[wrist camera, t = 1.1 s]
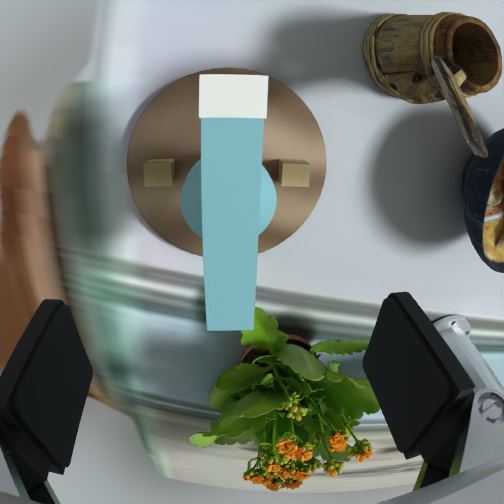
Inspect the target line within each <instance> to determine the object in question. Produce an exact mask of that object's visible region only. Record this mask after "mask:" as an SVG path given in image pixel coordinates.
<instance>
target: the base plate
mask: <svg viewBox="0 0 504 504" xmlns="http://www.w3.org/2000/svg"><path fill="white" fill-rule="evenodd" d="M203 74H235V75H263V76H267V75H264V74H261V73H259V72H255V71H251V70H246V69H238V68H216V69H210V70H205V71H201V72H198V73H195V74H192V75H189V76H186V77H184V78H182V79H181V80H179V81H177V82H175V83H173V84H172V85H170V86H169V87H167V88H166V89H165V90H163V91H162V92H161V93H160V94H159V95H158V96H157V97H156V98H155V99H154V100H153V101H152V102H151V103H150V104H149V106H148V107H147V108H146V109H145V111H144V112H143V114H142V115H141V117H140V119H139V120H138V122H137V124H136V127H135V129H134V131H133V134H132V137H131V141H130V144H129V149H128V157H127V173H128V180H129V186H130V189H131V193H132V196H133V198H134V201H135V203H136V205H137V207H138V209H139V211H140V212H141V214H142V216H143V217H144V219H145V220H146V221H147V222H148V224H149V225H150V226H151V227H152V228H153V229H154V230H155V231H156V232H157V233H158V234H159V235H160V236H161V237H163V238H164V239H165V240H167V241H168V242H169V243H171V244H173V245H175V246H176V247H178V248H180V249H182V250H185V251H187V252H189V253H192V254H196V255H199V256H203V238H201V237H200V236H198V235H197V234H196V233H195V232H194V231H193V230H192V229H191V228H190V227H189V225H188V224H187V222H186V221H185V218H184V216H183V213H182V209H181V192H182V188H183V185H184V183H185V180H186V178H187V175H188V173H189V172H190V170H191V168H192V167H193V166H194V165H195V164H196V163H197V162H198V161H199V160H200V159H201V118H199V78H200V75H203ZM262 165H263V166H264V167H265V169H266V170H267V172H268V174H269V175H270V177H271V179H272V181H273V184H274V186H275V190H276V196H277V203H276V209H275V213H274V216H273V218H272V220H271V222H270V223H269V225H268V226H267V227H266V229H265V230H264V231H263V232H262V233H261V234H259V235H258V253H262V252H264V251H266V250H268V249H271V248H273V247H275V246H276V245H278V244H280V243H281V242H283V241H284V240H286V239H287V238H288V237H290V236H291V235H292V234H293V233H294V232H295V231H296V230H298V229H299V228H300V227H301V226H302V224H303V223H304V222H305V221H306V219H307V218H308V217H309V215H310V214H311V212H312V211H313V209H314V207H315V205H316V203H317V201H318V199H319V197H320V194H321V191H322V188H323V185H324V179H325V174H326V152H325V145H324V141H323V137H322V133H321V131H320V128H319V126H318V123H317V121H316V119H315V118H314V116H313V114H312V112H311V111H310V110H309V108H308V107H307V106H306V104H305V103H304V102H303V101H302V100H301V99H300V98H299V97H298V96H297V95H296V94H295V93H294V92H293V91H292V90H291V89H289V88H288V87H287V86H285V85H284V84H282V83H281V82H279V81H277V80H275V79H273V78H271V77H269V76H268V97H267V119H265V118H264V130H263V151H262Z"/></svg>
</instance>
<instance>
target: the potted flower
mask: <svg viewBox="0 0 504 504" xmlns="http://www.w3.org/2000/svg"><path fill="white" fill-rule="evenodd" d="M277 327H278V323H277V321H276V319H275V318H274V317H273V316H271V315H268V314H266V312H265V311H264V310H263V309H261V308H257V307H255V312H254V330H241V333H242V334H243V336H242V338H241V346H242V345H243V344H244V345H243V346H246V345H247V344H251V346H250V347H249V348H248V349H246V351H245V353H244V354H243V357H242V359H241V363H240V365H235V366H233V367H231V368H230V369H231V370H228V371H224V372H223V375H222V376H220V377H218V380H219V381H217V383H216V384H215V386H214V387H213V388H212V389H211V393H210V395H209V398H210V399H209V406H210V407H211V408H212V409H216V410H219V411H221V410H223V411H222V414H221V416H220V417H219V418H218V421H216V422H211V423H210V425H211V427H210V429H211V432H197V433H195V434H192V435H191V436H189V441H190V442H191V443H192V444H196V446H195V447H196V448H197V449H198V448H202V447H203V448H205V447H207V446H208V445H210V444H211V443H212V442H215V443H216V444H220V445H224V444H225V443H227V444H228V445H232V444H235V443H236V442H237V441H238V442H239V443H240V444H242V445H243V444H246V443H247V442H251V441H254V443H256V444H259V446H258V448H259V451H258V456H257V458H253V459H251V460H250V461H249V462H248V467H247V468H248V470H247V471H246V472H245V473H244V476H243V479H244V480H250V481H253V484H256V483H257V484H263V485H264V486H267V489H270V490H272V491H274V490H275V491H277V490H278V489H279V487H278V486H280V484H281V486H282V487H280V488H285V487H287V489H288V488H291V489H294V488H297V487H299V485H301V484H303V483H302V480H305V479H307V478H309V477H310V476H309V474H310V471H309V470H311V472H313V473H314V472H315V471H316V469H315V466H316V468H317V469H319V468H321V466H322V464H321V463H320V461H318V459H315V457H316V456H319V453H320V455H321V457H322V459H323V460H327V463H323V466H322V468H323V467H325V468H324V472H327V471H328V472H327V474H326V475H329V476H332V477H335V476H336V475H337V473H339V474H340V473H341V472H342V470H341V468H342V467H343V465H342V464H344V462H338V458H339V461H349V460H350V459H351V457H352V456H356V455H358V456H356V461H357V460H359V461H361V462H363V461H364V459H365V458H370V456H371V455H373V452H371V450H372V447H371V446H370V445H371V444H370V443H369V440H367V439H363V440H362V441H360V440H357V438H356V437H355V435H354V434H353V432H352V431H351V429H350V428H353V426H357V425H359V424H360V423H359V422H358V421H357V420H354V419H360V418H362V416H363V412H366V413H367V414H368V415H369V414H371V413H372V414H374V413H376V412H378V411H379V410H380V406H379V403H378V401H377V399H376V396H375V394H374V392H373V390H372V387H371V385H370V383H369V380H368V379H359V378H352V377H349V376H346V375H344V374H342V373H338V368H337V367H338V366H339V365H340V364H343V363H345V362H337V361H331V362H329V364H328V366H327V368H325V366H324V365H323V363H322V362H321V361H320V360H319V359H317V358H319V356H321V355H322V353H321V354H319V355H316V352H326V353H328V354H331V355H333V353H336V354H341V355H345V353H348V354H349V355H353V352H356V353H358V352H362V351H363V350H367V347H368V345H369V342H370V340H362V341H358V340H350V341H347V340H328V341H321V342H319V343H317V344H315V345H313V346H311V345H310V344H309V343H308V342H307V341H306V340H304V339H303V338H301V337H300V336H298V335H292V334H284V333H283V332H281V331H280V330H278V329H277ZM350 417H351V418H350ZM350 435H352V436H353V438H354V439H355V440H356V443H355V444H354V446H353V447H351V446H349V445H348V444H347V443H348V441H347V440H348V438H349V437H350ZM359 442H360V443H359ZM262 446H264V448H263V450H262ZM307 450H308V451H307ZM364 450H366V451H365V452H364ZM367 450H368V451H367ZM262 457H264V458H263V459H261V458H262ZM255 459H258V460H257V462H256V464H255V465H254V467H253V468H249V467H250V462H251V461H253V460H255ZM287 459H290V460H289V461H288V460H287ZM292 459H293V460H294V461H292ZM309 459H310V460H309ZM295 460H296V462H295ZM260 461H261V462H262V465H263V467H262V468H261V466H262V465H261V463H260ZM276 463H278V464H276ZM280 464H281V465H280ZM304 464H307V465H304ZM258 465H259V467H260V468H259V469H255V467H256V466H257V468H258ZM289 469H290V471H288V470H289ZM274 473H278V474H277V475H276V476H275V475H274ZM280 477H281V478H282V479H284V480H285V482H283V480H281V479H280ZM272 478H273V479H272Z"/></svg>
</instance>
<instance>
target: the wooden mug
mask: <svg viewBox="0 0 504 504" xmlns="http://www.w3.org/2000/svg"><path fill="white" fill-rule="evenodd" d="M363 55H364V58H365V62H366V66H367V67H368V69H369V71H370V73H371V75H372V77H373V79H374V80H375V82H376V83H377V84H378V86H379V87H380V88H382V89H383V90H384V91H386V92H387V93H389V94H391V95H393V96H395V97H397V98H401V99H403V100H405V101H407V102H410V103H414V104H427V103H433V102H438V101H442V100H445V99H446V100H447V102H448V104H449V106H450V108H451V110H452V112H453V114H454V117H455V119H456V121H457V123H458V125H459V128H460V130H461V132H462V134H463V136H464V139H465V140H466V142H467V143H468V145H469V147H470V148H471V150H472V151H473V153H474V154H475V155H477V156H481V157H485V158H487V156H488V152H487V149H486V147H485V144H484V142H483V139H482V137H481V134H480V132H479V130H478V127H477V125H476V122H475V120H474V117H473V115H472V113H471V110H470V108H469V106H468V104H467V101H466V99H465V98H467V97H471V96H476V95H478V94H481V93H484V92H488V91H489V90H491V89H492V88H493V87H494V86H495V85H496V84H497V83H498V81H499V79H500V77H501V74H502V56H501V50H500V46H499V44H498V42H497V40H496V38H495V36H494V35H493V33H492V31H491V30H490V28H489V27H488V26H487V25H486V24H485V23H484V22H482V21H481V20H479V19H477V18H474V17H470V16H465V15H463V14H461V13H453V12H441V13H438V14H435V15H407V14H387V15H384V16H382V17H379V18H378V19H377V20H376V21H375V22H373V23H372V24H371V26H370V27H369V29H368V30H367V33H366V35H365V38H364V42H363Z"/></svg>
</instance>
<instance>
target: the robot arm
mask: <svg viewBox="0 0 504 504" xmlns="http://www.w3.org/2000/svg"><path fill="white" fill-rule="evenodd" d="M470 333H471V328H470V324H469V323H468V321H467V320H466V319H465V318H464V317H462V316H459V315H453V316H448V317H445V318H442V319H440V320H438V321H436V322H435V323H433V324H432V322H431V321H430V319H429V318H428V317H427V315H426V314H425V313H424V311H423V310H422V309H421V307H420V306H419V305H418V304H417V302H416V301H415V300H414V298H413V297H412V296H411V294H409V293H408V292H398V293H391V294H389V295H388V297H387V298H386V299H384V301H383V303H382V306H381V309H380V312H379V316H378V319H377V322H376V325H375V327H374V330H373V333H372V336H371V339H370V342H369V345H368V347H367V350H366V353H365V355H364V358H363V369H364V372H365V374H366V376H367V378H368V380H369V383H370V385H371V387H372V390H373V392H374V394H375V396H376V399H377V401H378V403H379V406H380V408H381V410H382V413H383V415H384V417H385V420H386V422H387V424H388V427H389V429H390V432H391V434H392V436H393V439H394V441H395V444H396V446H397V449H398V450H399V451H400V452H401V453H404V456H405V458H406V460H407V459H410V458H413V457H416V456H419V455H422V458H423V460H424V462H423V464H422V467H421V470H420V473H419V476H418V478H417V481H416V484H415V486H414V489H413V491H412V492H410V493H407V494H404V495H401V496H398V497H395V498H392V499H389V500H386V501H383V502H379V503H376V504H504V387H503V385H502V384H501V382H500V381H499V379H498V378H497V376H496V375H495V373H494V372H493V371H492V369H491V368H490V366H489V365H488V364H487V362H486V361H485V359H484V358H483V357H482V355H481V354H480V353H479V351H478V350H477V349H476V347H475V346H474V345H473V343H472V342H471V341H470V339H469V337H470ZM92 376H93V370H92V366H91V364H90V361H89V359H88V356H87V354H86V351H85V349H84V346H83V344H82V341H81V339H80V336H79V333H78V330H77V328H76V325H75V322H74V319H73V316H72V314H71V311H70V308H69V306H68V305H65V304H64V302H63V301H62V300H54V299H45V300H43V301H42V303H41V304H40V306H39V308H38V309H37V311H36V312H35V314H34V316H33V317H32V319H31V321H30V323H29V324H28V326H27V328H26V329H25V331H24V333H23V335H22V336H21V338H20V340H19V342H18V344H17V346H16V347H15V349H14V351H13V353H12V355H11V357H10V359H9V361H8V362H7V365H6V367H5V369H4V371H3V372H2V374H1V376H0V504H60V502H59V500H58V499H57V497H56V495H55V493H54V491H53V489H52V488H51V486H50V484H49V482H48V480H47V477H48V473H49V472H53V473H57V474H61V475H63V474H64V470H65V467H68V466H69V465H70V462H71V457H72V453H73V448H74V444H75V440H76V436H77V432H78V427H79V423H80V420H81V416H82V412H83V408H84V405H85V401H86V398H87V394H88V391H89V387H90V384H91V380H92Z"/></svg>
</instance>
